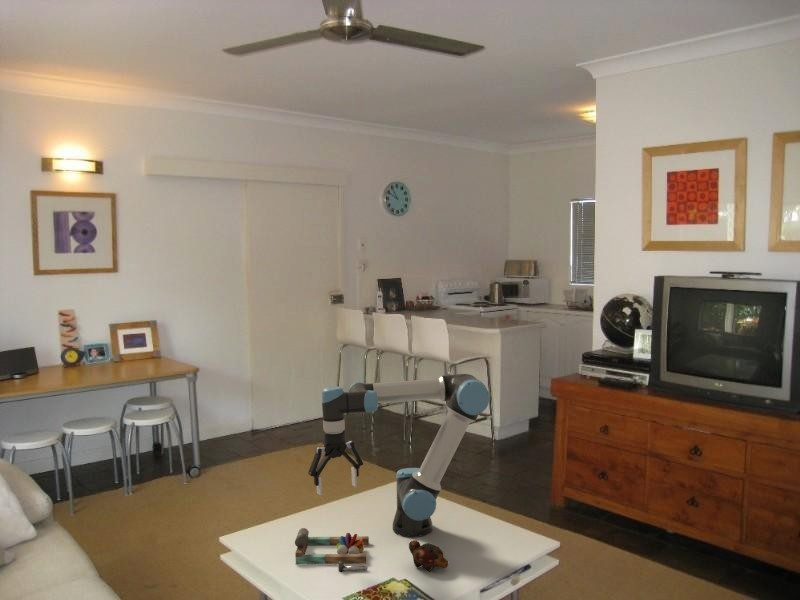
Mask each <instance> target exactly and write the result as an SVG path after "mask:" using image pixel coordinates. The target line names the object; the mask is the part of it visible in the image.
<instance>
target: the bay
mask: <svg viewBox="0 0 800 600" xmlns="http://www.w3.org/2000/svg"><path fill="white" fill-rule="evenodd" d="M339 537H340V536H309V530H308V529H307V528H306V527H302V528H300V529H299V530H298V532H297V535H296V538H295V541H294V545H295V547H296V550H295V565H338V562H339V561H343V562H344V565H350V564H353V565H354V564H355V565H356V564H361V565H362V564H363V565H364V564H367V561H368V559H367V553H359V554H349V553H348V554H338V553H329V554H328V553H323V554H321V553H315V554H313V553H310V554H306V553H307V549H308V547H334V546H335V547H337V545H338V544H339V543H340V541H339ZM352 537H353V536H351V538H352ZM357 539H362V540H363V544H364V546H369V543H370V540H369V539H370V537H369V536H366V535H365V536H358V535H357V537H356V540H357Z"/></svg>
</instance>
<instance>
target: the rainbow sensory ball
mask: <svg viewBox="0 0 800 600" xmlns="http://www.w3.org/2000/svg"><path fill="white" fill-rule="evenodd" d="M357 536H358V534H357V533H354V534H353V535H351V533H350V532H346V534H345V536H344V535H341V536H338V537H339V541H340V543H339V544H338V545H337V546H336V550H337V551H336V554H362V553H363V552H364V550H365V549H364V547H365V545H364V544H363V540H362V539H357V540H356V537H357ZM351 537H352V538H351Z"/></svg>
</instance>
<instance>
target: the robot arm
mask: <svg viewBox="0 0 800 600" xmlns="http://www.w3.org/2000/svg"><path fill="white" fill-rule="evenodd" d="M428 400H441V402H448V403H447V405H446V409H447V414H446V415H445V418H444V419H443V422H442V424H441V426H440V428H439V429H438V431H437V433H436V436H435V437H434V440H433V441H432V442H431V443H432V444H431V446H430V448H429V449H428V451H427V453H426V455H425V457H424V460H423V461H422V463H421V465H420V467H405V468H401V469H399V470H397V472H396V477H395V479H396V510H395V511H396V512H395V514H394V518H393V521H392V531H393V533H395V534H397V535H399V536H401V537H410V538H414V537H415V538H417V537H422V536H426V535H429V534H430V533H431V532H432V531H433V521H432V518H431V517H432V516H433V515H434V513H435V512H436V509H437V498H438V496H439V495H440V493H441V490H442V486H441V481H442V478H443V477H444V475H445V473H446V472H447V469H448V467H449V465H450V463H451V461H452V459H453V457H454V456H455V453H456V452H457V449H458V448H459V445H460V443H461V441H462V440H463V437H464V435H465V434H466V431H467V429H468V427H469V425H470V424H472V423H474V422H475V423H476V421H477V418H478V417H479V415H480V414H481V413H483V412H485V410H486V409H487V408H488V406H489V403H490V392H489V390H488V388H487V386H486V385H485V383H483V382H482V381H481V380H479V379H478V378H476V376H474V375H473V374H469V373H459V374H458V373H457V374H456V373H455V374H447V375H440V376H439V377H438V378H428V379H416V380H403V381H387V382H386V381H385V382H374V383H373V382H372V383H363V382H361V381H359V382H358V381H357V382H354V383H352V384H351V385H350V387H349V389H348V391H344V389H343V387H342V386H332V385H331V386H327V387H325V388H323V389H322V391H321V410H322V411H321V412H322V424H323V425H322V426H323V431H324V432H323V443H324V446H323V447H319V446H317V447H315V454H314V457H313V460H312V461H311V464H310V467H309V468H308V469H309V470H308V473H307V474H308V475H309V476H311V477H313V483H314V486H315V487H316V493H317V495H319V496H323V487H322V486H323V485H322V476H321V474H322V472H323V470H324V469H325V467H326V466H327V464H328V462H329V461H330V460H331V459H336V458H342V457H341V456H343V457H344V458H345V460H347V462H349V464H350V465H352V466H351V467H350V469H351V471H350V472H351V473H350V474H351V485H352V486H353V487H354V488H357V487H358V478H357V477H359V475H360V473H359V469H360V467H361V466H364V462H363V461H362V458H361V456H360V455H359V453H358V451H357V450H356V447H355V442H354V441H352V440H348V442H346V431H345V430H346V427H345V426H346V424H345V421H346V420H345V415H346V414H348V415H349V414H361V413H362V414H363V413H364V414H365V413H367V414H369V413H374V412H377V410H378V408H379V404H385V403H398V402H413V401H428ZM346 448H348V449H349V450H350V452H351V454H352V457H354V459H355V460H354V459H353V458H352V457H351V456H350V455H349V454H348V453H347V452H346ZM323 453H324V455H323V456H322V454H323ZM321 457H323V458H322V459H321Z"/></svg>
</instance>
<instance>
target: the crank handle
mask: <svg viewBox="0 0 800 600" xmlns="http://www.w3.org/2000/svg"><path fill="white" fill-rule="evenodd" d="M337 566H338V569H337V570H338V572H339V573H344V572H367V571H368V568H369V567H368V566H367V565H345V564H344V562H343V561H339V562H338V564H337Z"/></svg>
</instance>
